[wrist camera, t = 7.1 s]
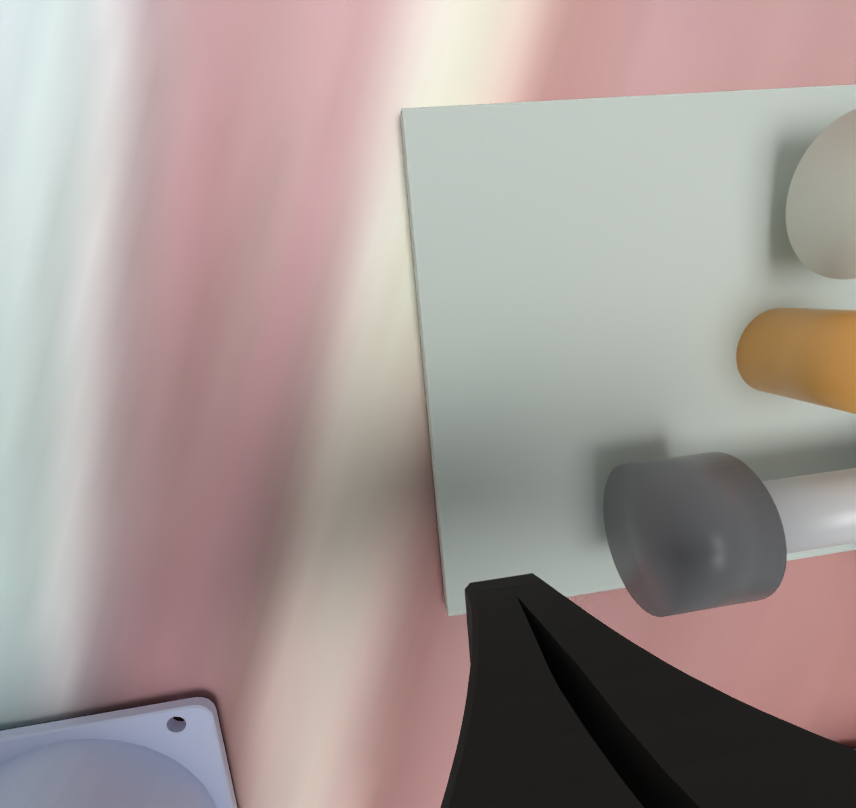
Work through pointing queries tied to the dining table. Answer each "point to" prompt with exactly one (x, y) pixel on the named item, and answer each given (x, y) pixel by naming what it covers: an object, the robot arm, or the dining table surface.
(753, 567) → the charcoal knob
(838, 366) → the dial
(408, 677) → the dining table surface
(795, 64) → the dining table surface
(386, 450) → the dining table surface
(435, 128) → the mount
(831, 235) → the ivory knob
